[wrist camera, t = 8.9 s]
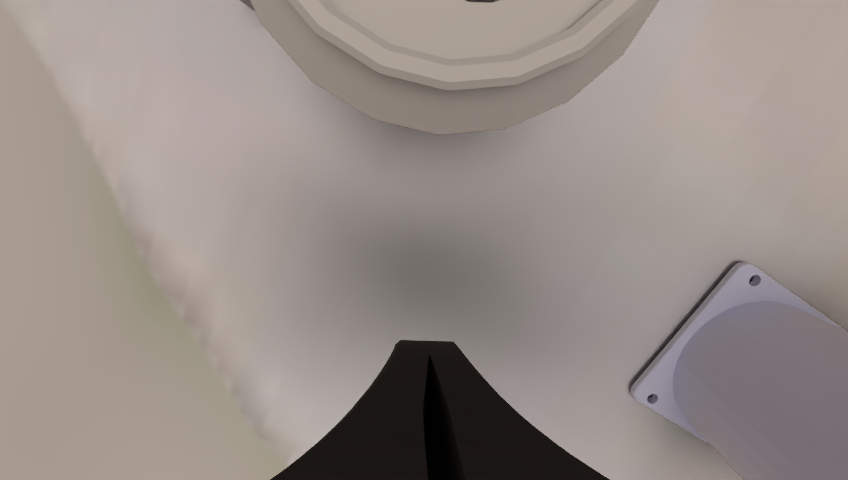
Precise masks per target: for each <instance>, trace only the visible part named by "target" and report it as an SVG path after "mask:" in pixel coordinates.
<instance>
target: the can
mask: <svg viewBox="0 0 848 480" xmlns="http://www.w3.org/2000/svg"><path fill="white" fill-rule="evenodd" d="M250 1H251V3H252V5H253V7H254V9H255V11H256V14H257V16H258V18H259V20H260V22H261V24H262V25H263V26H264V27H265V29H266V30H267V31H268V32H269V33H270V34H271V35H272V37H273V38H274V39H275V40H276V41H277V42H278V43H279V45H280V46H281V47H282V48H283V49H284V50H285V51H286V52H287V54H288V55H289V56H290V57H291V58H292V59H293V60H294V62H295V63H296V64H297V65H298V66H299V67H300V68H301V70H302V71H303V72H304V73H305V74H306V75H307V76H308V78H309V79H310V80H311V81H312V82H314V83H315V84H317V85H318V86H320V87H322V88H323V89H325V90H327V91H328V92H330V93H331V94H333V95H335V96H336V97H338V98H339V99H341V100H343V101H344V102H346V103H348V104H349V105H351V106H352V107H354V108H356V109H357V110H359V111H361V112H362V113H364V114H365V115H367V116H369V117H370V118H372V119H375V120H379V121H383V122H387V123H392V124H396V125H400V126H404V127H408V128H412V129H416V130H420V131H425V132H429V133H433V134H437V135H441V134H452V133H464V132H476V131H487V130H499V129H505V128H508V127H510V126H512V125H515V124H517V123H519V122H522V121H524V120H526V119H529V118H531V117H534V116H536V115H538V114H541V113H543V112H545V111H548V110H550V109H552V108H555V107H557V106H559V105H562V104H564V103H566V102H568V101H569V100H570V99H571V98H573V97H574V96H575V95H576V94H577V93H578V92H580V91H581V90H582V89H583V88H584V87H586V86H587V85H588V84H589V83H590V82H591V81H593V80H594V79H595V78H596V77H597V76H599V75H600V74H601V73H602V72H603V71H604V70H606V69H607V68H608V67H609V66H610V65H611V64H613V63H614V62H615V61H616V60H617V59H619V58H620V57H621V56H622V55H623V54H624V52H625V51H626V49H627V48H628V46H629V45H630V43H631V42H632V40H633V39H634V37H635V36H636V34H637V33H638V31H639V30H640V28H641V27H642V25H643V24H644V22H645V21H646V19H647V18H648V16H649V15H650V13H651V12H652V10H653V9H654V7H655V6H656V4H657V3H658V1H659V0H250Z"/></svg>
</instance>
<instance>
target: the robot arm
mask: <svg viewBox="0 0 848 480" xmlns="http://www.w3.org/2000/svg"><path fill="white" fill-rule="evenodd" d="M752 276H754V279H753V281H751V282H750V283H749V280H750V278H751V277H752ZM630 392H631V395H632V396H633V397H634V399H635V400H637V401H638V402H639V403H641V404H643V405H644V406H646V407H648V408H649V409H651V410H653V411H654V412H656V413H658V414H659V415H661V416H663V417H664V418H666V419H668V420H669V421H671V422H673V423H674V424H676V425H678V426H680V427H681V428H683V429H685V430H686V431H688V432H690V433H691V434H693V435H695V436H696V437H698V438H700V439H701V440H703V441H705V442H706V443H708V444H710V445H711V446H712V447H713V448H714V449H715V450H716V451H717V452H718V453H719V454H720V455H721V456H722V458H723V459H724V460H725V461H726V462H727V463H728V464H729V465H730V466H731V467H732V468H733V469H734V470H735V471H736V472H737V473H738V475H739V476H740V477H741V478H742V479H743V480H848V331H846V330H845V329H843V328H842V327H840V326H839V325H838V324H836V323H835V322H833V321H832V320H831V319H829V318H828V317H826V316H825V315H823V314H822V313H821V312H819V311H818V310H816V309H815V308H813V307H812V306H811V305H809V304H808V303H806V302H805V301H804V300H802V299H801V298H799V297H798V296H796V295H795V294H794V293H792V292H791V291H789V290H788V289H787V288H785V287H784V286H782V285H781V284H779V283H778V282H777V281H775V280H774V279H772V278H771V277H769V276H768V275H767V274H765V273H764V272H762V271H761V270H760V269H758V268H757V267H755V266H754V265H751V264H749V263H746V262H740V263H737V264H736V265H734V266H733V267H732V268H731V270H730V271H729V272H728V273H727V274H726V275H725V277H724V278H723V279H722V280H721V281H720V283H719V284H718V285H717V286H716V287H715V288H714V290H713V291H712V292H711V293H710V294H709V295H708V297H707V298H706V299H705V300H704V301H703V303H702V304H701V305H700V306H699V307H698V308H697V310H696V311H695V312H694V313H693V314H692V316H691V317H690V318H689V319H688V320H687V321H686V323H685V324H684V325H683V326H682V327H681V329H680V330H679V331H678V332H677V333H676V334H675V336H674V337H673V338H672V339H671V340H670V341H669V343H668V344H667V345H666V346H665V347H664V349H663V350H662V351H661V352H660V353H659V354H658V356H657V357H656V358H655V359H654V360H653V362H652V363H651V364H650V365H649V366H648V367H647V369H646V370H645V371H644V372H643V373H642V375H641V376H640V377H639V378H638V379H637V380H636V382H635V383H634V384H633V385H632V387H631V391H630ZM651 394H653V396H652V397H651V398H648V396H649V395H651ZM647 398H648V399H647ZM271 480H609V479H608V478H606V477H604V476H603V475H601V474H600V473H598V472H597V471H595V470H594V469H592V468H591V467H589V466H588V465H586V464H585V463H583V462H581V461H580V460H578V459H577V458H575V457H574V456H572V455H571V454H570V453H568V452H567V451H565V450H564V449H562V448H561V447H560V446H558V445H557V444H556V443H554V442H553V441H552V440H550V439H549V438H548V437H547V436H545V435H544V434H543V433H542V432H540V431H539V430H538V429H536V428H535V427H534V426H533V425H531V424H530V423H529V422H528V421H527V420H525V419H524V418H523V417H522V416H521V415H520V414H519V413H518V412H516V411H515V410H514V409H513V408H512V407H511V406H510V405H509V404H508V403H507V402H506V401H505V400H504V399H503V398H502V397H501V396H500V395H499V394H498V393H497V392H496V391H495V390H494V389H493V388H492V387H491V386H490V385H489V384H488V382H487V381H486V380H485V379H484V378H483V377H482V376H481V375H480V373H479V372H478V371H477V370H476V369H475V368H474V366H473V365H472V364H471V363H470V361H469V360H468V359H467V358H466V356H465V355H464V354H463V353H462V351H461V350H460V349H459V348H458V346H457V345H456V344H455V343H454V342H445V341H411V340H400V341H399V342H398V343H397V344H396V345H395V347H394V350H393V352H392V354H391V356H390V358H389V359H388V361H387V363H386V364H385V366H384V367H383V369H382V370H381V372H380V373H379V375H378V376H377V378H376V379H375V380H374V382H373V383H372V385H371V386H370V387H369V389H368V390H367V391H366V392H365V393H364V395H363V396H362V397H361V398H360V399H359V401H358V402H357V403H356V404H355V405H354V407H353V408H352V409H351V410H350V411H349V412H348V413H347V414H346V416H345V417H344V418H343V419H342V420H341V421H340V422H339V423H338V424H337V425H336V426H335V427H334V428H333V429H332V430H331V431H330V432H329V433H328V434H326V435H325V436H324V437H323V438H322V439H321V440H320V441H319V442H318V443H317V444H315V445H314V446H313V447H312V448H311V449H309V450H308V451H307V452H306V453H305V454H304V455H302V456H301V457H300V458H299V459H297V460H296V461H295V462H294V463H292V464H291V465H290V466H289V467H287V468H286V469H285V470H283V471H282V472H281V473H279V474H278V475H276V476H275V477H273V478H272V479H271Z"/></svg>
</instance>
